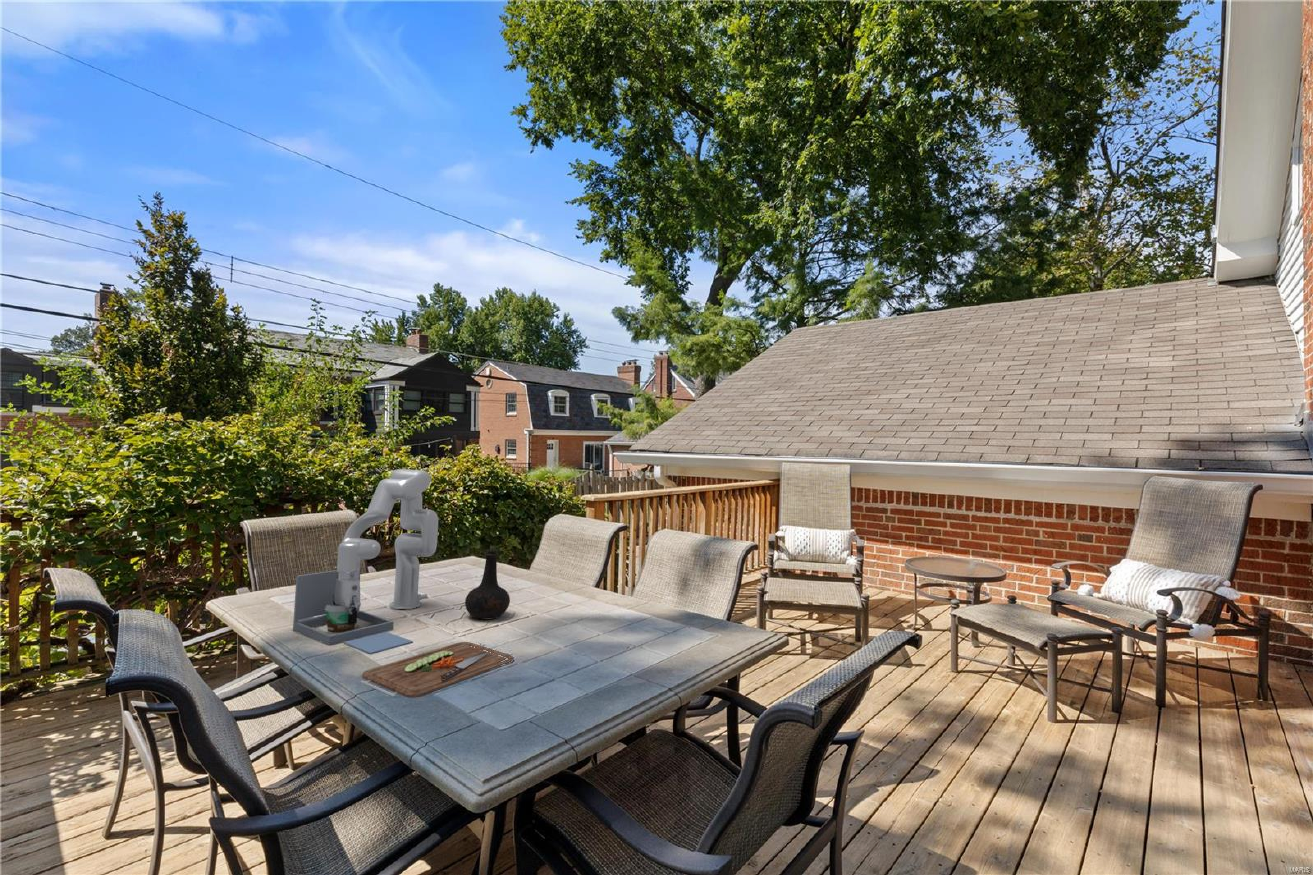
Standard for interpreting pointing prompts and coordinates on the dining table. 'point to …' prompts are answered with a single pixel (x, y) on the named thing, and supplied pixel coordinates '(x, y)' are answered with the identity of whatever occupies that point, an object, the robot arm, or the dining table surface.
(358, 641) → the mat
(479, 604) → the glass bottle
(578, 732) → the dining table surface
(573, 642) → the dining table surface
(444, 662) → the chopping board
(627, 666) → the dining table surface
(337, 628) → the food container
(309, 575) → the case
